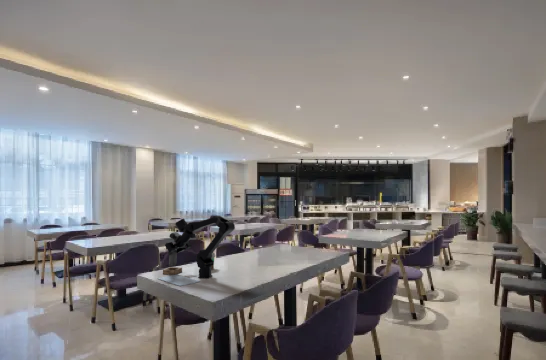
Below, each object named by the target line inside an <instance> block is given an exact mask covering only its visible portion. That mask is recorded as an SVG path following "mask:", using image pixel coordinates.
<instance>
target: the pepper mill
mask: <svg viewBox="0 0 546 360" xmlns="http://www.w3.org/2000/svg"><path fill="white" fill-rule="evenodd" d="M177 254H178V253H177V249H176V252H175V253H173V254H171V255H168V258H169V259H168V266H169V267H177V260H178V259H177V258H178V256H177Z"/></svg>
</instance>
